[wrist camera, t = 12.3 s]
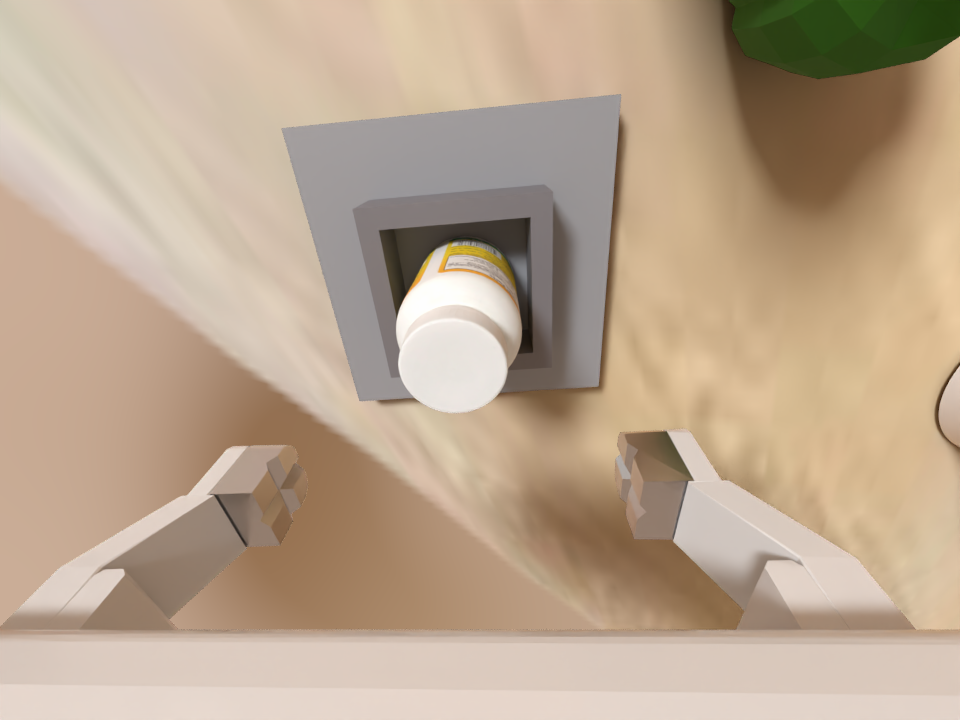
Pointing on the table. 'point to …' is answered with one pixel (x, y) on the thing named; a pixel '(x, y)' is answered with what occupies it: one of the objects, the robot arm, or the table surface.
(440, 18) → the table surface
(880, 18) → the bell pepper
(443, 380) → the supplement bottle
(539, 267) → the bottle stand
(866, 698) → the robot arm
